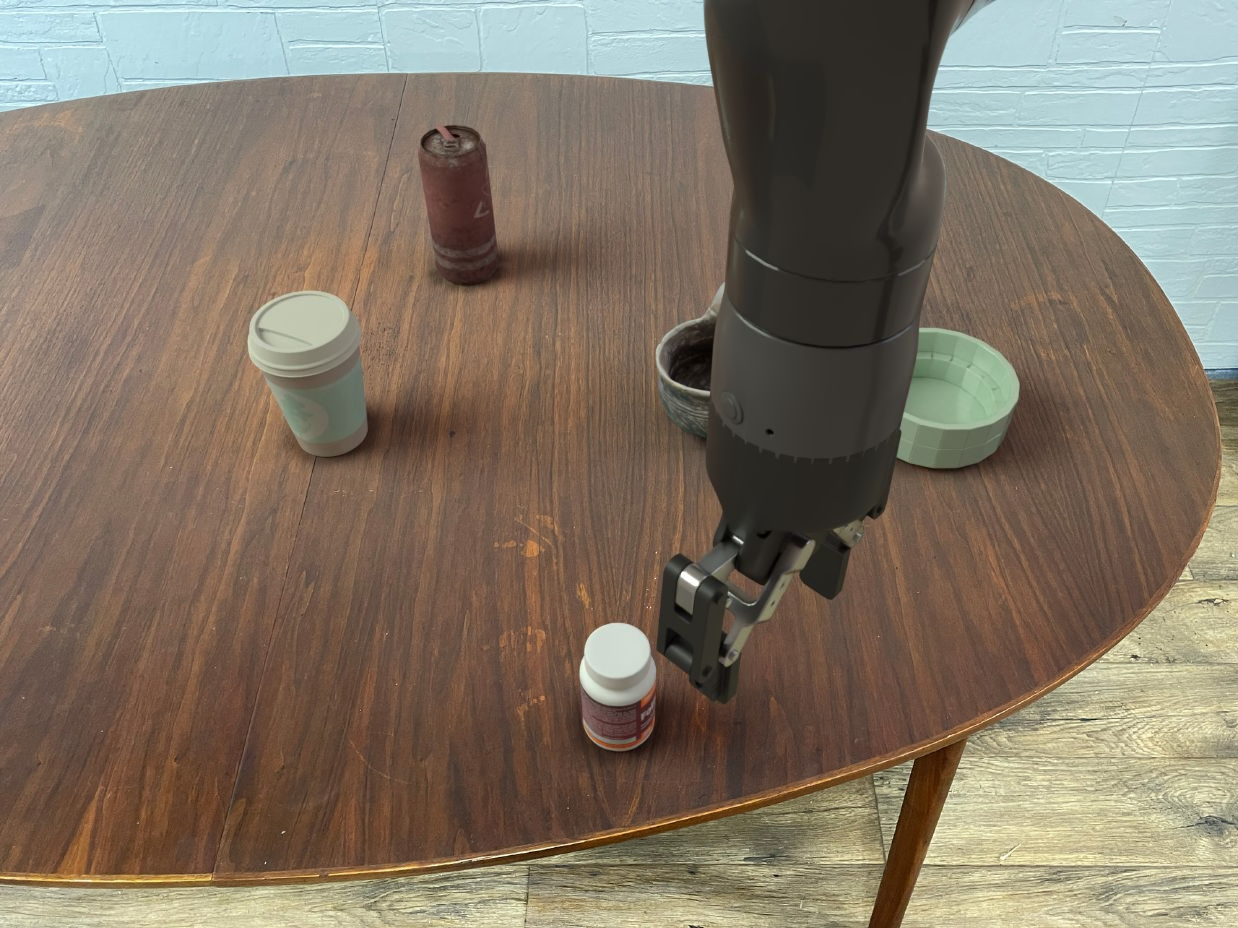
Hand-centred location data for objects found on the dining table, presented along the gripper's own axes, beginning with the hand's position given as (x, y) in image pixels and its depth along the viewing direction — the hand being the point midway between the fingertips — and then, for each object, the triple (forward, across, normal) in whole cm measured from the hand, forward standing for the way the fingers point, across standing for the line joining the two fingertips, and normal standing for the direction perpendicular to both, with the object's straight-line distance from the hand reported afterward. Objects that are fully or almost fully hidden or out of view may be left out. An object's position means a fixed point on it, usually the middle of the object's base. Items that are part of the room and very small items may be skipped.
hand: (768, 636), depth 52 cm
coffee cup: (+17, +2, +46) cm, 49 cm away
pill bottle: (+18, -1, +10) cm, 20 cm away
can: (+16, +25, +55) cm, 63 cm away
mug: (+17, +26, +25) cm, 40 cm away
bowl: (+16, +38, +10) cm, 42 cm away
